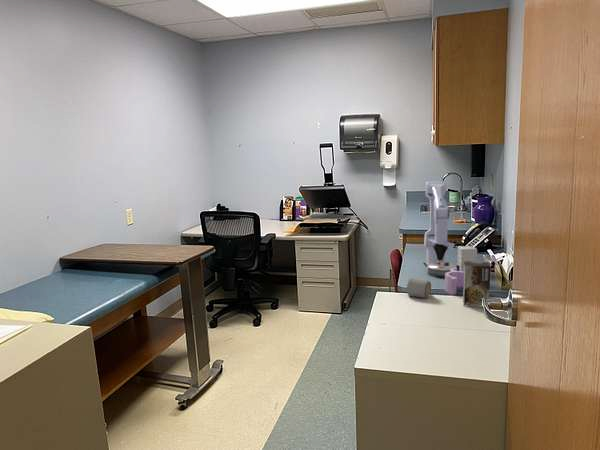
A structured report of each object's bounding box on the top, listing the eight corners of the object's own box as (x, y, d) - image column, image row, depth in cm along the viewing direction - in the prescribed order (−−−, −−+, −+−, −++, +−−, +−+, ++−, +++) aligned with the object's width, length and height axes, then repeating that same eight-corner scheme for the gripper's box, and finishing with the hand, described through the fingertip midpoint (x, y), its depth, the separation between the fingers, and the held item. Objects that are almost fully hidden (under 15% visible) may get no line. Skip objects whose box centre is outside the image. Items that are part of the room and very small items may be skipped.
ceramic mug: (426, 300, 170) (427, 281, 169) (406, 297, 175) (406, 279, 174) (433, 294, 179) (434, 276, 178) (414, 291, 183) (415, 273, 182)
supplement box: (472, 270, 216) (473, 245, 214) (476, 274, 208) (477, 248, 207) (456, 270, 216) (457, 245, 215) (460, 274, 209) (461, 248, 207)
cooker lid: (440, 262, 218) (440, 259, 218) (462, 268, 206) (462, 264, 206) (421, 266, 211) (421, 262, 211) (442, 272, 200) (443, 268, 199)
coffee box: (487, 302, 167) (489, 262, 164) (489, 308, 161) (491, 265, 158) (462, 300, 169) (464, 260, 167) (463, 306, 163) (465, 264, 161)
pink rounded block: (444, 281, 197) (445, 267, 196) (474, 283, 193) (474, 268, 192) (444, 294, 178) (444, 278, 177) (476, 297, 174) (477, 280, 173)
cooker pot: (437, 268, 221) (437, 260, 220) (467, 276, 205) (467, 267, 205) (417, 272, 214) (418, 263, 213) (447, 280, 198) (447, 271, 198)
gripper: (423, 231, 210) (422, 258, 212) (447, 235, 198) (446, 264, 200) (433, 229, 214) (433, 256, 216) (457, 233, 201) (456, 262, 203)
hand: (440, 260), depth 208 cm, fingers closed
